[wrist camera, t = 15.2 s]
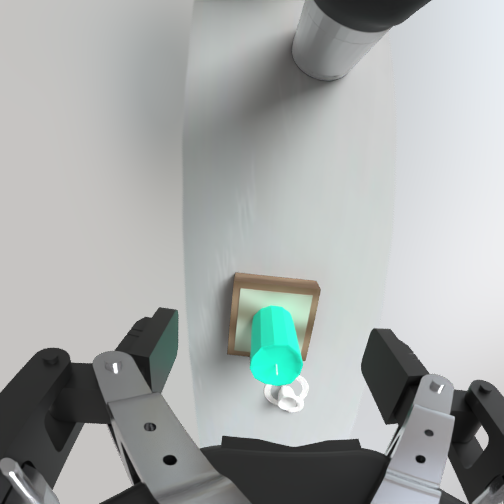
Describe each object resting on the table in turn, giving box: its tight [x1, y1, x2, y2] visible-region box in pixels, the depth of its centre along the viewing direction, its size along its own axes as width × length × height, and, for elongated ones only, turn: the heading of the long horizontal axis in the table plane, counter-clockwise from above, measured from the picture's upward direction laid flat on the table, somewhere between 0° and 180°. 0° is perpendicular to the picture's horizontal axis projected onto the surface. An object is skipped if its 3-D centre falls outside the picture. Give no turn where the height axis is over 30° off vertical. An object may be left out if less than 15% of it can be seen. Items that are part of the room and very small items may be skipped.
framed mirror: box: [227, 273, 321, 361], centre depth 45 cm, size 12×12×4 cm
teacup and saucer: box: [264, 376, 309, 413], centre depth 49 cm, size 9×8×4 cm
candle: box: [250, 305, 303, 386], centre depth 37 cm, size 6×6×12 cm
